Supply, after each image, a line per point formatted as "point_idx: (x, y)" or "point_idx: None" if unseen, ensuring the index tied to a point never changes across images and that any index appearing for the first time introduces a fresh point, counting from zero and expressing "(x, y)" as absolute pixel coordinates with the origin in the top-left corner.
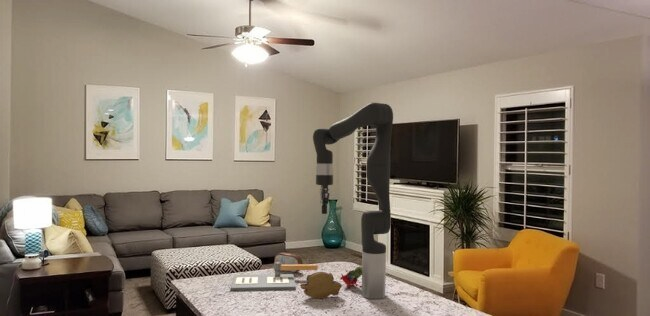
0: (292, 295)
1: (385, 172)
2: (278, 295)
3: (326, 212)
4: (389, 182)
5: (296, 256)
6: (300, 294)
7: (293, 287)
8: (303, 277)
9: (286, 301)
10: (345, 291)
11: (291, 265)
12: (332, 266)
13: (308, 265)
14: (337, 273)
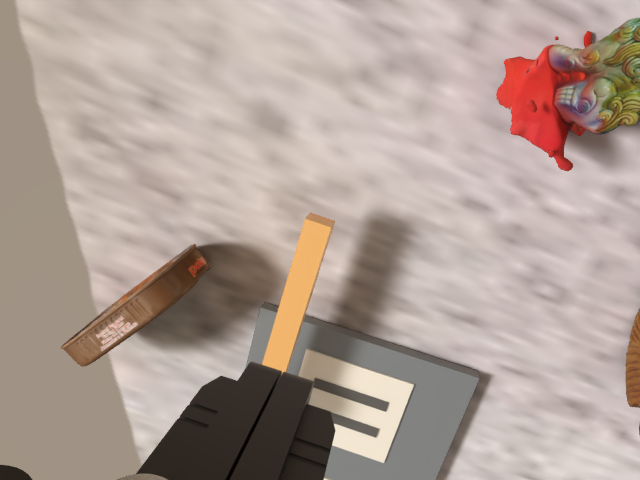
0: (557, 413)
1: None
2: (528, 459)
3: (307, 396)
4: None
5: (160, 296)
6: (559, 379)
7: (476, 384)
8: (289, 262)
9: (627, 463)
10: (623, 164)
11: (286, 358)
12: (107, 20)
13: (315, 276)
14: (264, 55)
